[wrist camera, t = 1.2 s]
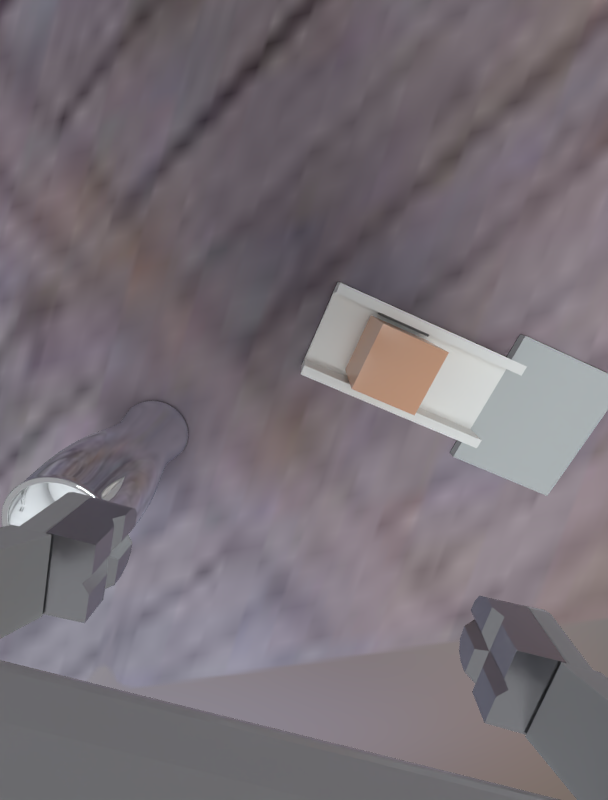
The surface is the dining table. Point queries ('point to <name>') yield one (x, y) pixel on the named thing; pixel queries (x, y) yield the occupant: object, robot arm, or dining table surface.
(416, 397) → the block
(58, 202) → the dining table surface
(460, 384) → the chute
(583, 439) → the pad
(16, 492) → the beer glass
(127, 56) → the dining table surface
